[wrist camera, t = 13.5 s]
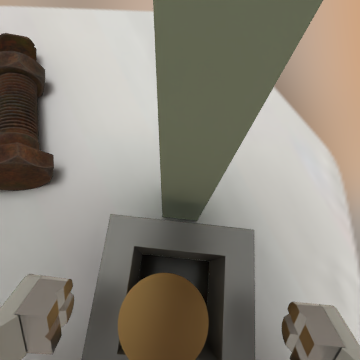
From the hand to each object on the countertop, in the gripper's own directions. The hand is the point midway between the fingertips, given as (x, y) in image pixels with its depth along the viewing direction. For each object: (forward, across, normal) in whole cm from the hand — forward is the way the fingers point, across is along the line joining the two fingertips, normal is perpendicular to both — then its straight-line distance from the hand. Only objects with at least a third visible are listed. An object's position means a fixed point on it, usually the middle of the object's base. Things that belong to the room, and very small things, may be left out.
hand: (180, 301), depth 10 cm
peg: (+7, 0, +9) cm, 11 cm away
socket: (+8, 0, +8) cm, 11 cm away
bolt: (+18, +15, -2) cm, 24 cm away
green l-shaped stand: (+10, 0, +6) cm, 11 cm away
